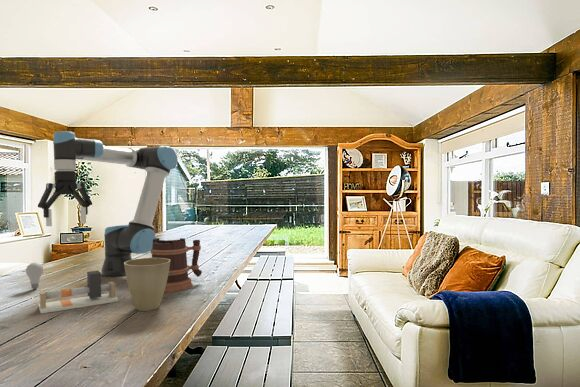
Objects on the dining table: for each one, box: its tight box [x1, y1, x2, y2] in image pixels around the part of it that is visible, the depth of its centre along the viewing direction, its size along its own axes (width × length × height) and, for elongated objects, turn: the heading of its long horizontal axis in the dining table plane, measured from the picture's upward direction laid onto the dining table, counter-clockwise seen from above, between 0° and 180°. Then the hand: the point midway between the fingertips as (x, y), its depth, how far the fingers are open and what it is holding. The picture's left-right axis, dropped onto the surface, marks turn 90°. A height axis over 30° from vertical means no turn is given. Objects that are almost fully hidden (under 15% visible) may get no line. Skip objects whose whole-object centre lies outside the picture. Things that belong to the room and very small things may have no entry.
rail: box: [38, 281, 119, 314], centre depth 145 cm, size 24×10×6 cm, turn 125°
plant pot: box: [124, 257, 170, 312], centre depth 139 cm, size 15×15×16 cm
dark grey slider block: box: [86, 270, 102, 298], centre depth 147 cm, size 4×5×9 cm, turn 35°
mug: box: [149, 237, 203, 293], centre depth 169 cm, size 18×23×20 cm
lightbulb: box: [25, 262, 44, 290], centre depth 167 cm, size 6×6×11 cm
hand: (66, 224), depth 161 cm, fingers open, 13 cm apart
